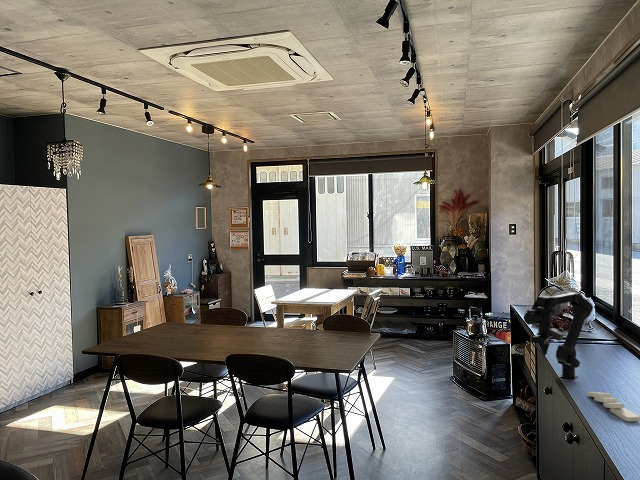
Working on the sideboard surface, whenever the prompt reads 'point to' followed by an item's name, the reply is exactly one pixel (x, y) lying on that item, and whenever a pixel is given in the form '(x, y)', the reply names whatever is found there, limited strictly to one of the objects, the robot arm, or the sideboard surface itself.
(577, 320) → the robot arm
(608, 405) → the domino
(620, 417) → the domino
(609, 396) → the domino
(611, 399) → the domino
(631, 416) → the domino
